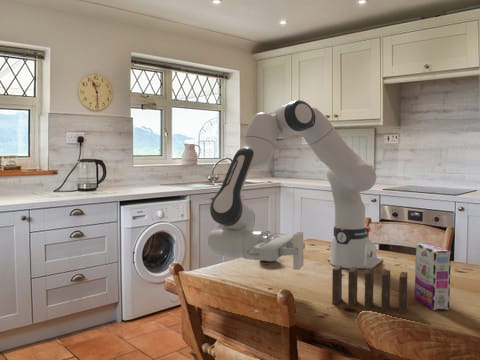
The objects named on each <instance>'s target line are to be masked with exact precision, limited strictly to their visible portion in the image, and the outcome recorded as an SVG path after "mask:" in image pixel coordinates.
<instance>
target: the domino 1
mask: <svg viewBox="0 0 480 360" xmlns="http://www.w3.org/2000/svg"><path fill="white" fill-rule="evenodd" d="M331 279H332V281H331V283H332V287H331V288H332V292H331V294H332V298H331V299H332V301H331V302H332V305H339V304H340V302H341V301H342V299H343V297H342V296H343V293H342V291H343V289H342V288H343V287H342V286H343V284H342V283H343V268H342V266H340V265H336V266H334V267H333V269H332V278H331Z"/></svg>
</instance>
